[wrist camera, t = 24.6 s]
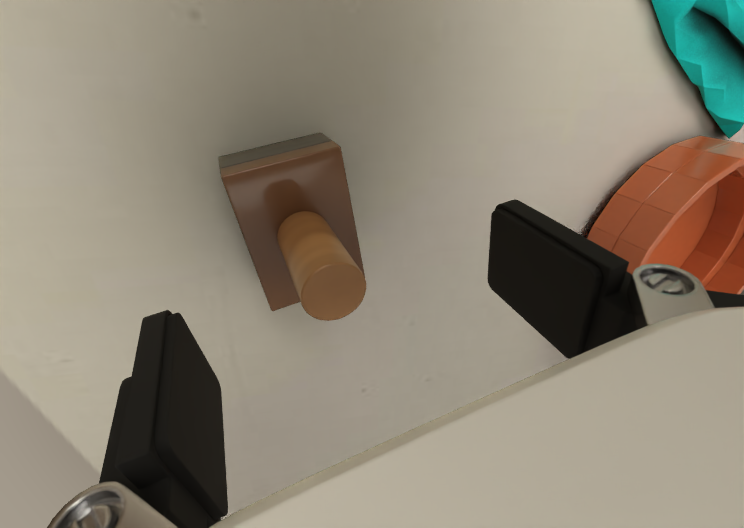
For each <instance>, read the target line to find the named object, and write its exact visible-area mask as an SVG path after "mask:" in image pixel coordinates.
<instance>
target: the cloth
mask: <svg viewBox="0 0 744 528" xmlns="http://www.w3.org/2000/svg"><path fill="white" fill-rule="evenodd" d="M652 3H653V6H654V9H655V11H656V14H657V17H658V20H659V23H660V26H661V29H662V31H663V34H664V37H665V39H666V41H667V44H668V46H669V48H670V49H671V51H672V52H673V54H674V55H675V56H676V58H677V60H678V61H679V63H680V64H681V66H682V67H683V69H684V71H685V72H686V74H687V75H688V77H689V79H690V80H691V82H692V83H694V84H695V85H697V86H698V87H699V90H700V92H701V95H702V98H703V101H704V103H705V106H706V108H707V110H708V111H709V113H710V114H711V115H712V117H713V118H714V120H715V121H716V123H717V124H718V125H719V127H720V128H721V129H722V131H723V132H724V133H725V134H726V136H727V137H728V138H730V137H732V136H733V135H734V134H735V133H737V132H738V131H739V130H740V129H741V128H742V126H743V124H744V0H652Z"/></svg>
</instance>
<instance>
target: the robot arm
mask: <svg viewBox="0 0 744 528" xmlns="http://www.w3.org/2000/svg"><path fill="white" fill-rule="evenodd" d="M628 265H629V262H628V261H626V260H625V259H623V258H621V257H619V256H617V255H616V254H614V253H612V252H610V251H608V250H607V249H605V248H603V247H601V246H599V245H598V244H596V243H594V242H592V241H590V240H589V239H587V238H585V237H583V236H581V235H580V234H578V233H576V232H574V231H572V230H571V229H569V228H567V227H565V226H563V225H562V224H560V223H558V222H556V221H554V220H553V219H551V218H549V217H547V216H545V215H544V214H542V213H540V212H538V211H536V210H535V209H533V208H531V207H529V206H527V205H526V204H524V203H522V202H520V201H518V200H511V201H508V202H505V203H502V204H499V205H497V206H496V208H495V211H493V213H492V216H491V232H490V249H489V265H488V283H489V286H490V287H491V289H492V290H493V291H494V292H495V293H496V294H497V295H499V296H500V297H501V298H502V299H503V300H504V301H505V302H506V303H507V304H508V305H509V306H511V307H512V308H513V309H514V310H515V311H516V312H517V313H518V314H519V315H520V316H522V317H523V318H524V319H525V320H526V321H527V322H528V323H529V324H530V325H531V326H533V327H534V328H535V329H536V330H537V331H538V332H539V333H540V334H541V335H542V336H543V337H545V338H546V339H547V340H548V341H549V342H550V343H551V344H552V345H553V346H554V347H556V348H557V349H558V350H559V351H560V352H561V353H562V354H563V355H564V356H566V357H567V358H569V360H566V361H564V362H562V363H560V364H557V365H555V366H553V367H551V368H548V369H546V370H544V371H542V372H539V373H537V374H535V375H533V376H530V377H528V378H526V379H524V380H521V381H519V382H517V383H515V384H512V385H510V386H508V387H506V388H503V389H501V390H499V391H497V392H495V393H492V394H490V395H488V396H486V397H483V398H481V399H479V400H477V401H474V402H472V403H470V404H468V405H466V406H463V407H461V408H459V409H457V410H454V411H452V412H450V413H448V414H446V415H443V416H441V417H439V418H437V419H435V420H432V421H430V422H428V423H426V424H423V425H421V426H419V427H417V428H415V429H412V430H410V431H408V432H406V433H404V434H401V435H399V436H397V437H395V438H393V439H390V440H388V441H386V442H384V443H382V444H380V445H377V446H375V447H373V448H371V449H369V450H366V451H364V452H362V453H360V454H358V455H355V456H353V457H351V458H349V459H347V460H344V461H342V462H340V463H338V464H336V465H333V466H331V467H329V468H327V469H325V470H323V471H320V472H318V473H316V474H314V475H312V476H310V477H308V478H306V479H304V480H301V481H299V482H297V483H295V484H293V485H291V486H289V487H287V488H285V489H283V490H280V491H278V492H276V493H274V494H272V495H270V496H268V497H266V498H264V499H261V500H259V501H257V502H255V503H253V504H251V505H249V506H248V507H246V508H244V509H242V510H240V511H238V512H236V513H234V514H232V515H230V516H229V517H227V518H225V519H223V520H221V517H223V516H225V515H227V512H228V501H227V483H226V466H225V449H224V431H223V414H222V397H221V388H220V384H219V381H218V379H217V377H216V375H215V373H214V372H213V370H212V368H211V366H210V365H209V363H208V361H207V359H206V358H205V356H204V354H203V352H202V351H201V349H200V347H199V345H198V344H197V342H196V340H195V338H194V337H193V335H192V333H191V331H190V330H189V328H188V326H187V324H186V323H185V321H184V319H183V317H182V316H181V314H180V313H175V314H172V313H171V312H170V311H169V310H166V311H163V312H160V313H156V314H153V315H150V316H147V317H145V318H143V321H142V326H141V331H140V336H139V341H138V346H137V351H136V357H135V362H134V367H133V372H132V377H129V378H126V379H124V380H123V381H122V384H121V386H120V390H119V395H118V399H117V404H116V408H115V413H114V417H113V422H112V426H111V431H110V436H109V440H108V445H107V449H106V454H105V458H104V463H103V467H102V472H101V477H100V481H99V484H97V485H94V486H91V487H90V488H88V489H86V490H85V491H83V492H81V493H79V494H78V495H77V496H75V497H74V498H73V499H72V500H70V501H69V502H68V503H67V504H66V505H65V506H64V507H63V508H62V509H61V510H60V511H59V512H58V513H57V515H56V516H55V517H54V518H53V519H52V521H51V523H50V524H49V526H48V527H47V528H744V295H740V294H732V293H724V292H717V291H709V290H705V288H704V286H703V285H702V283H701V282H700V280H699V279H698V278H697V277H696V276H694V275H693V274H691V273H690V272H688V271H685V270H683V269H681V268H678V267H675V266H671V265H665V264H646V265H641V266H639V267H637V268H636V269H635V270H634V272H633V274H631V273H629V272H627V268H628Z"/></svg>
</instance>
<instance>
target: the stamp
mask: <svg viewBox="0 0 744 528" xmlns="http://www.w3.org/2000/svg"><path fill="white" fill-rule="evenodd" d="M218 160H219V166H220V173H221V178H222V181H223V184H224V186H225V189H226V192H227V194H228V197H229V200H230V202H231V205H232V208H233V210H234V213H235V216H236V218H237V221H238V224H239V226H240V229H241V231H242V234H243V237H244V239H245V242H246V245H247V247H248V250H249V253H250V255H251V258H252V261H253V263H254V266H255V269H256V271H257V274H258V277H259V279H260V282H261V284H262V287H263V290H264V292H265V295H266V298H267V300H268V303H269V306H270V308H271V310H272V311H275V310H278V309H280V308H283V307H286V306H289V305H292V304H295V303H298V302H301V304H302V306H303V308H304V310H305V311H306V312H307V313H308V314H309V315H311V316H312V317H314V318H316V319H319V320H327V321H329V320H336V319H340V318H342V317H345V316H347V315H348V314H350V313H351V312H353V311H354V310H355V309H356V308H357V307H358V306H359V305H360V303H361V302H362V300H363V298H364V295H365V292H366V280H365V274H364V269H363V264H362V258H361V253H360V248H359V242H358V237H357V232H356V226H355V221H354V216H353V210H352V205H351V200H350V195H349V189H348V184H347V179H346V173H345V168H344V163H343V157H342V152H341V147H340V146H339V145H338V144H336V143H335V142H333V141H332V140H331V139H329V138H328V137H327V136H325V135H324V134H323V133H316V134H312V135H308V136H304V137H300V138H296V139H291V140H287V141H283V142H279V143H275V144H271V145H267V146H262V147H258V148H254V149H250V150H246V151H242V152H238V153H234V154H229V155H225V156H221V157H219V158H218Z"/></svg>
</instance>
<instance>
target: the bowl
mask: <svg viewBox="0 0 744 528" xmlns="http://www.w3.org/2000/svg"><path fill="white" fill-rule="evenodd" d="M587 239H589V240H590V241H592V242H594V243H596V244H598V245H599V246H601V247H603V248H605V249H607V250H608V251H610V252H612V253H614V254H616V255H617V256H619V257H621V258H623V259H625V260H626V261H628V262H629V265H628V268H627V272H629V273H631V274H633V272H634V270H635V269H636V268H637V267H639V266H641V265H646V264H665V265H671V266H675V267H678V268H681V269H683V270H685V271H688V272H690V273H691V274H693V275H694V276H696V277H697V278H698V279H699V280H700V282H701V283H702V285H703V286H704V288H705V290H709V291H717V292H724V293H732V294H740V293H741V292H742V291H743V290H744V143H740V142H734V141H729V140H723V139H718V138H711V137H705V136H697V137H694V138H691V139H688V140H685V141H681V142H678V143H675V144H673V145H671V146H669V147H668V148H666V149H665V150H663V151H662V152H661V153H659V154H658V155H656V156H655V157H653V158H652V159H650V160H649V161H647V162H646V163H644V164H643V165H642V166H641V167H640V168H639V169H638V170H637V171H636V172H635V173H634V174H633V175H632V176H631V177H630V178H629V179H628V180H627V181H626V182H625V183H624V184H623V186H622V187H621V188H620V189H619V190H618V191H617V192H616V193H615V194H614V195H613V197H612V198H611V200H610V201H609V203H608V204H607V205H606V207H605V208H604V210H603V211H602V213H601V214H600V216H599V217H598V219H597V220H596V222H595V223H594V224H593V226H592V228H591V230H590V233H589V235H588V237H587Z"/></svg>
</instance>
